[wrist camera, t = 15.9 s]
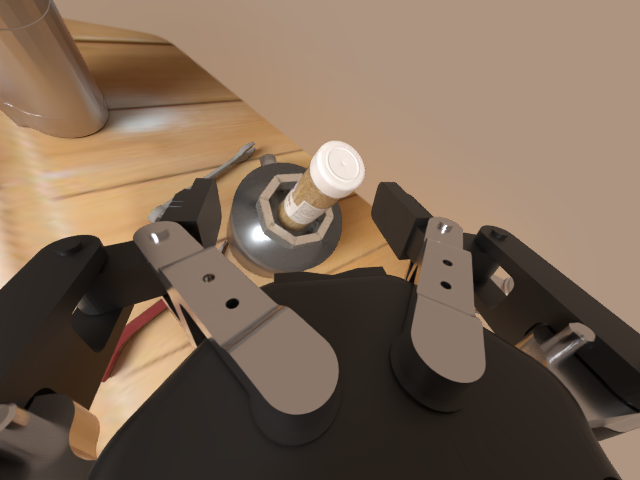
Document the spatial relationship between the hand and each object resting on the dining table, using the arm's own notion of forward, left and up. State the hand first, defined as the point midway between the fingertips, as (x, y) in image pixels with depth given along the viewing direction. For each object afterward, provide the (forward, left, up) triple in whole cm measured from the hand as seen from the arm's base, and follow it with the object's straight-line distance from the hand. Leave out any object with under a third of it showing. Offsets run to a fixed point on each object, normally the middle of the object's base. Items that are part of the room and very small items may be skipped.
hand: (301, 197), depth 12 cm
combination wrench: (-2, +14, -28) cm, 32 cm away
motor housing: (+7, +6, -28) cm, 29 cm away
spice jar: (+7, +4, -18) cm, 20 cm away
